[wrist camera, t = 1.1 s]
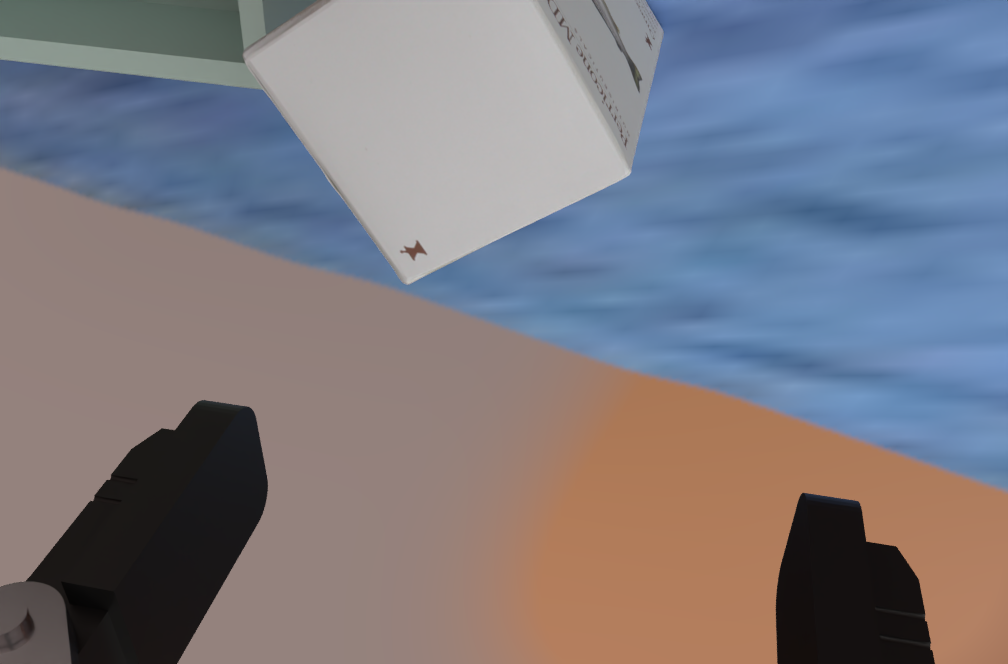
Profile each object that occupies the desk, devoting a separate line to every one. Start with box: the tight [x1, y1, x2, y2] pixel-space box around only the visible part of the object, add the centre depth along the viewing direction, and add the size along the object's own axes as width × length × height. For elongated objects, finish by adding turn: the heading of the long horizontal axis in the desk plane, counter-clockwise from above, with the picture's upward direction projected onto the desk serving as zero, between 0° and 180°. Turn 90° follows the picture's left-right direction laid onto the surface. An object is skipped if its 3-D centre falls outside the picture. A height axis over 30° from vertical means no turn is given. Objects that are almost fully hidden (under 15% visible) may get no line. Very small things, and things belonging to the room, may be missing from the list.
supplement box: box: [242, 0, 664, 285], centre depth 28 cm, size 7×7×13 cm
